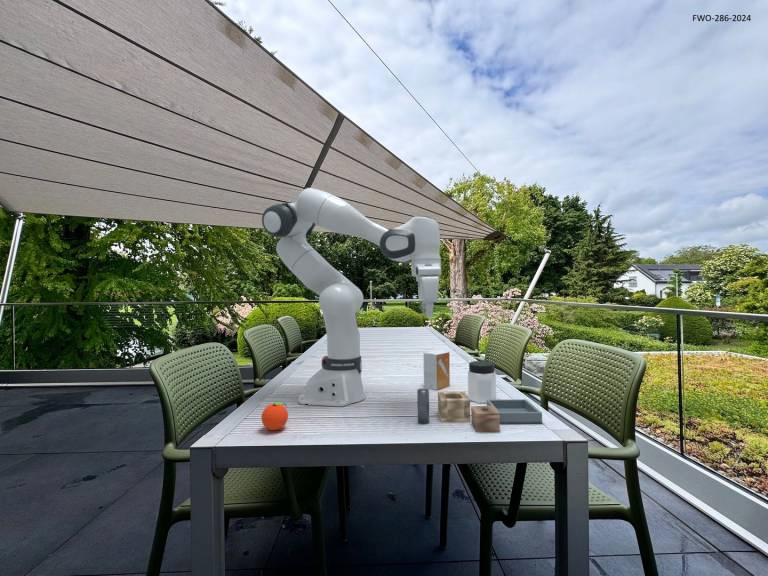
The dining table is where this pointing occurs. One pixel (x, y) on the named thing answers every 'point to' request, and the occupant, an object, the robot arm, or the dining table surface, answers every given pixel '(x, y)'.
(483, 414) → the walnut block
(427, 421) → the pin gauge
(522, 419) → the tray
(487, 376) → the jar
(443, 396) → the beech block
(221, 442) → the dining table surface
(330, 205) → the robot arm
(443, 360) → the small box
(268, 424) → the clementine
